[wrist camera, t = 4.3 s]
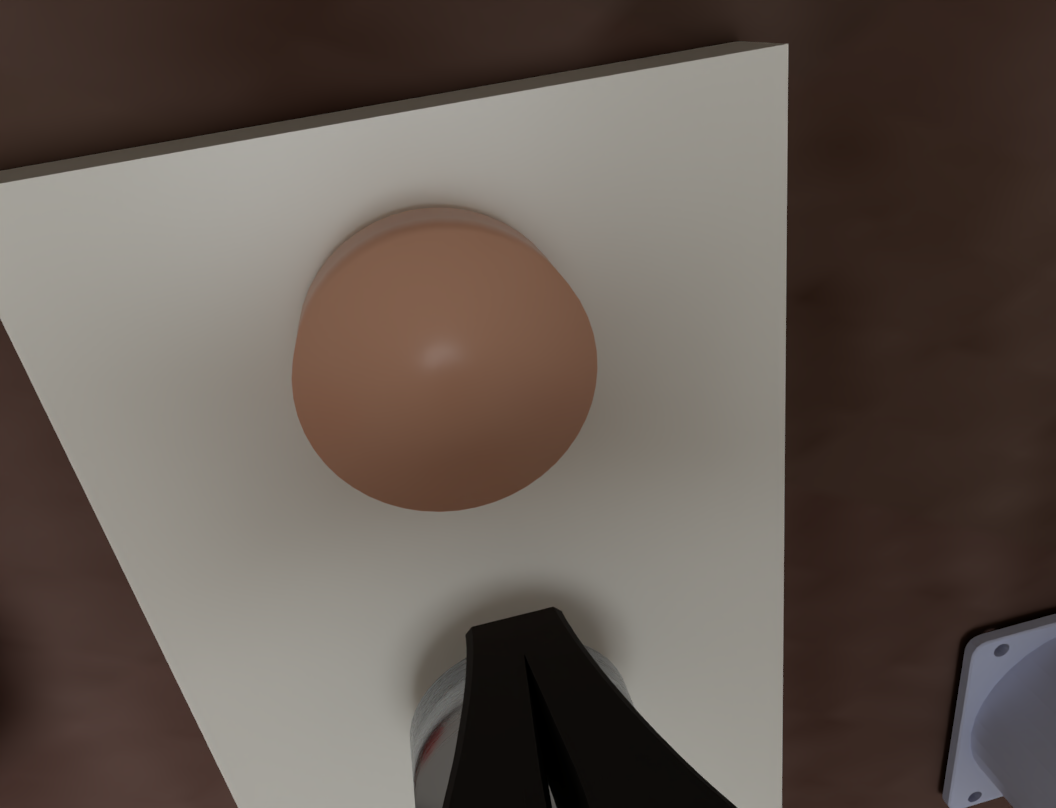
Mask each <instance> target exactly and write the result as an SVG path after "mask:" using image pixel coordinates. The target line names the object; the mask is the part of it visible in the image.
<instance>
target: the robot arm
mask: <svg viewBox="0 0 1056 808" xmlns="http://www.w3.org/2000/svg"><path fill="white" fill-rule="evenodd" d="M465 637H466V677H465V688H464V697H463V706H462V712H461V718H460V724H459V730H458V736H457V742H456V748H455V754H454V759H453V764H452V768H451V772H450V777H449V781H448V785H447V789H446V794H445V798H444V802H443V806H442V808H552V804H551V797H550V791H549V787H550V790H551V793H552V796H553V799H554V801H555V804H556V807H557V808H737V807H736V806H735V805H734V804H733V803H732V802H730V801H729V800H728V799H727V798H726V797H725V796H724V795H722V794H721V793H720V792H719V791H718V790H717V789H716V788H714V787H713V786H712V785H711V784H710V783H709V782H708V781H707V780H706V779H704V778H703V777H702V776H701V775H700V774H699V773H698V772H697V771H696V770H695V769H694V768H693V767H692V766H691V765H689V764H688V763H687V762H686V761H685V760H684V759H683V758H682V757H681V756H680V755H679V754H678V753H677V752H676V751H675V750H674V749H673V748H672V747H671V746H670V745H669V744H668V743H667V742H666V741H665V740H664V739H663V738H662V737H661V736H660V735H659V734H658V733H657V732H656V731H655V730H654V728H653V727H652V726H651V725H650V724H649V723H648V722H647V721H646V720H645V719H644V718H643V717H642V716H641V715H640V713H639V712H638V711H637V710H636V709H635V708H634V707H633V705H632V704H631V703H630V702H629V701H628V700H627V699H626V697H625V696H624V695H623V694H622V693H621V692H620V691H619V689H618V688H617V687H616V686H615V685H614V684H613V683H612V681H611V680H610V679H609V678H608V676H607V675H606V674H605V673H604V672H603V670H602V669H601V668H600V666H599V665H598V664H597V663H596V661H595V660H594V659H593V657H592V656H591V655H590V653H589V652H588V651H587V649H586V648H585V647H584V645H583V644H582V642H581V641H580V640H579V638H578V637H577V635H576V634H575V632H574V631H573V629H572V628H571V626H570V625H569V623H568V621H567V620H566V618H565V616H564V614H563V613H562V611H561V610H559V609H557V608H555V607H549V608H545V609H541V610H537V611H533V612H529V613H525V614H521V615H517V616H513V617H509V618H505V619H501V620H497V621H493V622H489V623H485V624H481V625H477V626H473V627H471V628H470V630H469V631H468V632H467V633H466V634H465ZM1002 796H1004V797H1005V798H1006V799H1007V801H1008V802H1009V803H1010V804H1011V805H1012V807H1013V808H1056V614H1052V615H1049V616H1045V617H1041V618H1038V619H1034V620H1031V621H1027V622H1023V623H1020V624H1016V625H1013V626H1009V627H1005V628H1002V629H998V630H994V631H991V632H987V633H984V634H980V635H978V636H975V637H974V638H972V639H971V640H970V641H969V642H968V643H967V645H966V647H965V651H964V658H963V664H962V671H961V677H960V684H959V690H958V697H957V703H956V710H955V717H954V723H953V730H952V736H951V743H950V749H949V756H948V762H947V769H946V775H945V782H944V789H943V795H942V797H943V800H944V801H945V803H946V804H947V805H948V807H949V808H966V807H969V806H972V805H975V804H979V803H982V802H985V801H989V800H992V799H995V798H998V797H1002Z"/></svg>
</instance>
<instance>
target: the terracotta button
mask: <svg viewBox="0 0 1056 808" xmlns="http://www.w3.org/2000/svg"><path fill="white" fill-rule="evenodd" d="M597 369H598V368H597V350H596V344H595V339H594V333H593V330H592V327H591V324H590V321H589V318H588V316H587V314H586V312H585V310H584V308H583V306H582V304H581V302H580V300H579V298H578V297H577V296H576V294H575V293H574V291H573V290H572V288H571V287H570V286H569V284H568V283H567V282H566V281H565V279H564V278H563V277H562V276H561V274H560V273H559V272H558V271H557V270H556V268H555V267H554V266H553V265H552V264H551V262H550V261H549V260H548V259H547V258H546V256H545V255H544V254H543V253H542V252H541V251H540V250H539V249H538V248H537V247H536V246H535V245H534V244H533V243H532V242H531V241H530V240H529V239H527V238H526V237H525V236H524V235H522V234H521V233H520V232H518V231H517V230H515V229H513V228H512V227H510V226H508V225H507V224H505V223H503V222H501V221H499V220H496V219H494V218H492V217H489V216H487V215H484V214H480V213H476V212H473V211H469V210H463V209H456V208H423V209H415V210H409V211H405V212H401V213H398V214H394V215H391V216H388V217H386V218H383V219H381V220H379V221H376V222H374V223H372V224H370V225H369V226H367V227H365V228H363V229H362V230H360V231H358V232H357V233H355V234H354V235H353V236H351V237H350V238H349V239H348V240H346V241H345V242H344V243H342V244H341V245H340V246H339V247H338V248H337V249H336V250H335V252H334V253H333V254H332V255H331V256H330V257H329V258H328V259H327V260H326V262H325V263H324V264H323V266H322V267H321V269H320V270H319V271H318V273H317V275H316V276H315V278H314V280H313V282H312V284H311V286H310V287H309V290H308V292H307V295H306V298H305V301H304V303H303V306H302V311H301V316H300V320H299V326H298V332H297V338H296V344H295V350H294V356H293V364H292V390H293V399H294V403H295V408H296V412H297V416H298V419H299V421H300V424H301V426H302V429H303V431H304V434H305V435H306V437H307V439H308V440H309V442H310V444H311V446H312V447H313V449H314V450H315V452H316V453H317V454H318V456H319V457H320V458H321V459H322V461H323V462H324V463H325V464H326V465H327V466H328V467H329V468H330V469H331V470H332V471H333V472H334V473H335V474H336V475H337V476H338V477H339V478H341V479H342V480H343V481H345V482H346V483H348V484H349V485H350V486H352V487H353V488H355V489H357V490H358V491H360V492H362V493H364V494H365V495H367V496H369V497H371V498H374V499H376V500H379V501H381V502H384V503H386V504H390V505H394V506H397V507H401V508H405V509H411V510H418V511H431V512H446V511H459V510H465V509H470V508H476V507H480V506H483V505H486V504H490V503H493V502H496V501H498V500H501V499H503V498H505V497H508V496H510V495H512V494H514V493H516V492H518V491H519V490H521V489H523V488H525V487H527V486H528V485H530V484H531V483H532V482H534V481H535V480H537V479H538V478H539V477H541V476H542V475H543V474H544V473H546V472H547V471H548V470H549V469H550V468H551V467H552V466H553V465H555V464H556V462H557V461H558V460H559V459H560V458H561V457H562V456H563V455H564V453H565V452H566V451H567V450H568V449H569V447H570V446H571V444H572V443H573V441H574V440H575V438H576V437H577V436H578V434H579V432H580V430H581V428H582V426H583V424H584V422H585V420H586V418H587V415H588V412H589V410H590V407H591V404H592V401H593V396H594V392H595V388H596V379H597Z"/></svg>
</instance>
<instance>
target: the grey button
mask: <svg viewBox="0 0 1056 808" xmlns="http://www.w3.org/2000/svg"><path fill="white" fill-rule="evenodd" d="M584 647H585V648H586V649H587V651H588V652H589V653H590V655H591V656H592V657H593V659H594V660H595V661H596V663H597V664H598V665H599V666H600V668H601V669H602V670H603V672H604V673H605V674H606V675H607V676H608V678H609V679H610V680H611V681H612V683H613V684H614V685H615V686H616V687H617V688H618V689H619V691H620V692H621V693H622V694H623V695H624V696H625V697H626V699H627V700H628V701H629V702H630V703H631V704H632V705H633V702H632V700H631V697H630V695H629V692H628V690H627V688H626V685H625V683H624V680H623V678H622V676H621V674H620V673H619V671H618V670H617V668H616V667H615V666H614V665H613V664H612V663H611V661H610V660H609V659H607V658H606V657H605V656H603V655H602V654H601V653H600V652H598V651H596V650H594V649H592V648H590V647H588V646H586V645H584ZM465 677H466V658H465V659H463V660H461V661H460V662H458V663H457V664H455V665H454V666H452V667H451V668H450V669H448V670H447V671H446V672H445V673H444V674H443V675H441V676H440V677H439V678H438V679H437V680H436V681H435V682H434V683H433V684H432V686H431V687H430V688H429V689H428V690H427V692H426V693H425V695H424V696H423V697H422V699H421V700H420V702H419V704H418V706H417V708H416V710H415V713H414V716H413V719H412V722H411V728H410V749H411V761H412V773H413V785H414V797H415V808H442V806H443V802H444V798H445V794H446V789H447V785H448V781H449V777H450V772H451V768H452V764H453V759H454V754H455V748H456V742H457V736H458V730H459V724H460V718H461V712H462V706H463V697H464V688H465ZM633 707H634V705H633ZM634 708H635V707H634ZM549 791H550V797H551V804H552V808H557V807H556V804H555V801H554V799H553V796H552V793H551V790H550V787H549Z"/></svg>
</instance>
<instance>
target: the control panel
mask: <svg viewBox="0 0 1056 808" xmlns="http://www.w3.org/2000/svg"><path fill="white" fill-rule="evenodd" d="M787 136H788V44H782V43H764V42H745V41H736V42H731V43H725V44H719V45H714V46H708V47H702V48H697V49H691V50H685V51H679V52H674V53H668V54H662V55H657V56H651V57H645V58H640V59H634V60H628V61H623V62H617V63H611V64H605V65H600V66H594V67H588V68H583V69H577V70H571V71H566V72H560V73H554V74H548V75H543V76H537V77H531V78H526V79H520V80H514V81H509V82H503V83H497V84H492V85H486V86H480V87H474V88H469V89H463V90H457V91H452V92H446V93H440V94H435V95H429V96H423V97H418V98H412V99H406V100H400V101H395V102H389V103H383V104H378V105H372V106H366V107H361V108H355V109H349V110H344V111H338V112H332V113H326V114H321V115H315V116H309V117H304V118H298V119H292V120H287V121H281V122H275V123H270V124H264V125H258V126H252V127H247V128H241V129H235V130H230V131H224V132H218V133H213V134H207V135H201V136H196V137H190V138H184V139H178V140H173V141H167V142H161V143H156V144H150V145H144V146H139V147H133V148H127V149H122V150H116V151H110V152H104V153H99V154H93V155H87V156H82V157H76V158H70V159H65V160H59V161H53V162H48V163H42V164H36V165H30V166H25V167H19V168H13V169H8V170H2V171H0V319H1V321H2V323H3V325H4V327H5V329H6V331H7V333H8V335H9V337H10V339H11V341H12V343H13V345H14V347H15V350H16V352H17V354H18V356H19V358H20V360H21V362H22V364H23V366H24V368H25V370H26V372H27V374H28V376H29V378H30V380H31V382H32V384H33V387H34V389H35V391H36V393H37V395H38V397H39V399H40V401H41V403H42V405H43V407H44V409H45V411H46V413H47V415H48V417H49V419H50V422H51V424H52V426H53V428H54V430H55V432H56V434H57V436H58V438H59V440H60V442H61V444H62V446H63V448H64V450H65V452H66V454H67V456H68V459H69V461H70V463H71V465H72V467H73V469H74V471H75V473H76V475H77V477H78V479H79V481H80V483H81V485H82V487H83V489H84V491H85V493H86V496H87V498H88V500H89V502H90V504H91V506H92V508H93V510H94V512H95V514H96V516H97V518H98V520H99V522H100V524H101V526H102V528H103V531H104V533H105V535H106V537H107V539H108V541H109V543H110V545H111V547H112V549H113V551H114V553H115V555H116V557H117V559H118V561H119V563H120V565H121V568H122V570H123V572H124V574H125V576H126V578H127V580H128V582H129V584H130V586H131V588H132V590H133V592H134V594H135V596H136V598H137V600H138V602H139V605H140V607H141V609H142V611H143V613H144V615H145V617H146V619H147V621H148V623H149V625H150V627H151V629H152V631H153V633H154V635H155V637H156V640H157V642H158V644H159V646H160V648H161V650H162V652H163V654H164V656H165V658H166V660H167V662H168V664H169V666H170V668H171V670H172V672H173V674H174V677H175V679H176V681H177V683H178V685H179V687H180V689H181V691H182V693H183V695H184V697H185V699H186V701H187V703H188V705H189V707H190V709H191V711H192V714H193V716H194V718H195V720H196V722H197V724H198V726H199V728H200V730H201V732H202V734H203V736H204V738H205V740H206V742H207V744H208V746H209V749H210V751H211V753H212V755H213V757H214V759H215V761H216V763H217V765H218V767H219V769H220V771H221V773H222V775H223V777H224V779H225V781H226V783H227V786H228V788H229V790H230V792H231V794H232V796H233V798H234V800H235V802H236V804H237V806H238V808H415V797H414V785H413V773H412V761H411V749H410V728H411V722H412V719H413V716H414V713H415V710H416V708H417V706H418V704H419V702H420V700H421V699H422V697H423V696H424V695H425V693H426V692H427V690H428V689H429V688H430V687H431V686H432V684H433V683H434V682H435V681H436V680H437V679H438V678H439V677H440V676H441V675H443V674H444V673H445V672H446V671H447V670H448V669H450V668H451V667H452V666H454V665H455V664H457V663H458V662H460V661H461V660H463V659H465V658H466V637H465V634H466V633H467V632H468V631H469V630H470V628H471V627H473V626H477V625H481V624H485V623H489V622H493V621H497V620H501V619H505V618H509V617H513V616H517V615H521V614H525V613H529V612H533V611H537V610H541V609H545V608H549V607H555V608H557V609H559V610H561V611H562V613H563V614H564V616H565V618H566V620H567V621H568V623H569V625H570V626H571V628H572V629H573V631H574V632H575V634H576V635H577V637H578V638H579V640H580V641H581V642H582V644H583V645H586V646H588V647H590V648H592V649H594V650H596V651H598V652H600V653H601V654H602V655H603V656H605V657H606V658H607V659H609V660H610V661H611V663H612V664H613V665H614V666H615V667H616V668H617V670H618V671H619V673H620V674H621V676H622V678H623V680H624V683H625V685H626V688H627V690H628V692H629V695H630V697H631V700H632V702H633V705H634V707H635V709H636V710H637V711H638V712H639V713H640V715H641V716H642V717H643V718H644V719H645V720H646V721H647V722H648V723H649V724H650V725H651V726H652V727H653V728H654V730H655V731H656V732H657V733H658V734H659V735H660V736H661V737H662V738H663V739H664V740H665V741H666V742H667V743H668V744H669V745H670V746H671V747H672V748H673V749H674V750H675V751H676V752H677V753H678V754H679V755H680V756H681V757H682V758H683V759H684V760H685V761H686V762H687V763H688V764H689V765H691V766H692V767H693V768H694V769H695V770H696V771H697V772H698V773H699V774H700V775H701V776H702V777H703V778H704V779H706V780H707V781H708V782H709V783H710V784H711V785H712V786H713V787H714V788H716V789H717V790H718V791H719V792H720V793H721V794H722V795H724V796H725V797H726V798H727V799H728V800H729V801H730V802H732V803H733V804H734V805H735V806H736V807H737V808H782V729H783V611H784V492H785V373H786V254H787ZM423 208H456V209H463V210H469V211H473V212H476V213H480V214H484V215H487V216H489V217H492V218H494V219H496V220H499V221H501V222H503V223H505V224H507V225H508V226H510V227H512V228H513V229H515V230H517V231H518V232H520V233H521V234H522V235H524V236H525V237H526V238H527V239H529V240H530V241H531V242H532V243H533V244H534V245H535V246H536V247H537V248H538V249H539V250H540V251H541V252H542V253H543V254H544V255H545V256H546V258H547V259H548V260H549V261H550V262H551V264H552V265H553V266H554V267H555V268H556V270H557V271H558V272H559V273H560V274H561V276H562V277H563V278H564V279H565V281H566V282H567V283H568V284H569V286H570V287H571V288H572V290H573V291H574V293H575V294H576V296H577V297H578V298H579V300H580V302H581V304H582V306H583V308H584V310H585V312H586V314H587V316H588V318H589V321H590V324H591V327H592V330H593V333H594V339H595V344H596V350H597V368H598V369H597V379H596V388H595V392H594V396H593V401H592V404H591V407H590V410H589V412H588V415H587V418H586V420H585V422H584V424H583V426H582V428H581V430H580V432H579V434H578V436H577V437H576V438H575V440H574V441H573V443H572V444H571V446H570V447H569V449H568V450H567V451H566V452H565V453H564V455H563V456H562V457H561V458H560V459H559V460H558V461H557V462H556V464H555V465H553V466H552V467H551V468H550V469H549V470H548V471H547V472H546V473H544V474H543V475H542V476H541V477H539V478H538V479H537V480H535V481H534V482H532V483H531V484H530V485H528V486H527V487H525V488H523V489H521V490H519V491H518V492H516V493H514V494H512V495H510V496H508V497H505V498H503V499H501V500H498V501H496V502H493V503H490V504H486V505H483V506H480V507H476V508H470V509H465V510H459V511H446V512H431V511H418V510H411V509H405V508H401V507H397V506H394V505H390V504H386V503H384V502H381V501H379V500H376V499H374V498H371V497H369V496H367V495H365V494H364V493H362V492H360V491H358V490H357V489H355V488H353V487H352V486H350V485H349V484H348V483H346V482H345V481H343V480H342V479H341V478H339V477H338V476H337V475H336V474H335V473H334V472H333V471H332V470H331V469H330V468H329V467H328V466H327V465H326V464H325V463H324V462H323V461H322V459H321V458H320V457H319V456H318V454H317V453H316V452H315V450H314V449H313V447H312V446H311V444H310V442H309V440H308V439H307V437H306V435H305V434H304V431H303V429H302V426H301V424H300V421H299V419H298V416H297V412H296V408H295V403H294V399H293V390H292V364H293V356H294V350H295V344H296V338H297V332H298V326H299V320H300V316H301V311H302V306H303V303H304V301H305V298H306V295H307V292H308V290H309V287H310V286H311V284H312V282H313V280H314V278H315V276H316V275H317V273H318V271H319V270H320V269H321V267H322V266H323V264H324V263H325V262H326V260H327V259H328V258H329V257H330V256H331V255H332V254H333V253H334V252H335V250H336V249H337V248H338V247H339V246H340V245H341V244H342V243H344V242H345V241H346V240H348V239H349V238H350V237H351V236H353V235H354V234H355V233H357V232H358V231H360V230H362V229H363V228H365V227H367V226H369V225H370V224H372V223H374V222H376V221H379V220H381V219H383V218H386V217H388V216H391V215H394V214H398V213H401V212H405V211H409V210H415V209H423Z"/></svg>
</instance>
